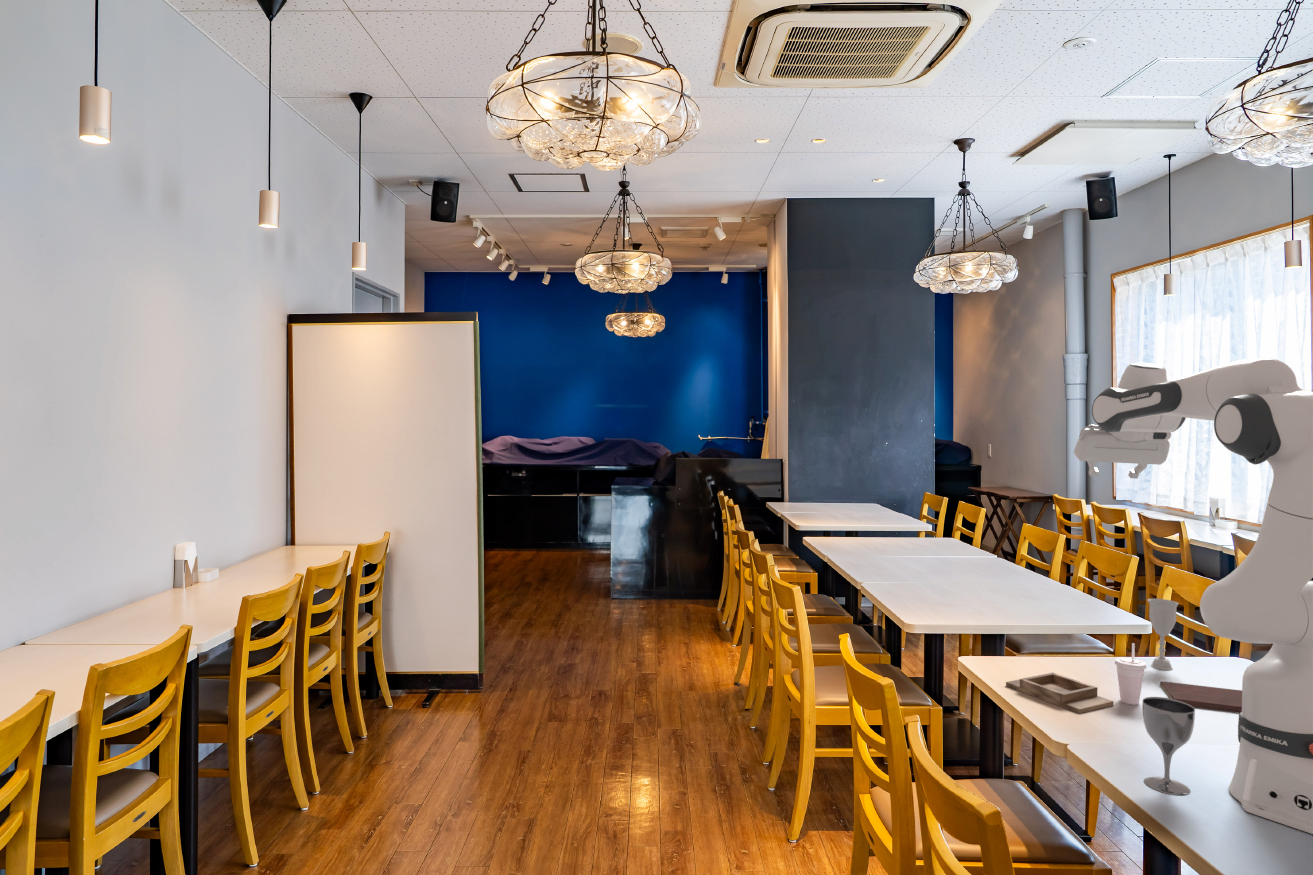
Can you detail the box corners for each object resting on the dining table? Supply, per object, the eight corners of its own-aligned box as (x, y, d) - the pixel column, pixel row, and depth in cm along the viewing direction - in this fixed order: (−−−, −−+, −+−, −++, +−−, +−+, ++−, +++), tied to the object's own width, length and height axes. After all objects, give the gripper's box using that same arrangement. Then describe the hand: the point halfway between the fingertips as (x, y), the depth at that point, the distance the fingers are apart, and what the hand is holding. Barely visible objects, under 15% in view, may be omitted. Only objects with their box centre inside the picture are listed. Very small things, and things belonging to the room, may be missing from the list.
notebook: (1160, 686, 194) (1160, 678, 194) (1254, 697, 186) (1255, 689, 186) (1174, 706, 180) (1174, 698, 180) (1277, 719, 172) (1277, 711, 172)
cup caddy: (1113, 705, 179) (1113, 692, 179) (1079, 713, 174) (1079, 700, 174) (1038, 679, 197) (1038, 667, 197) (1005, 685, 192) (1006, 674, 192)
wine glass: (1130, 779, 142) (1132, 699, 141) (1160, 772, 144) (1162, 694, 144) (1173, 799, 134) (1174, 715, 134) (1203, 792, 137) (1205, 709, 137)
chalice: (1183, 669, 206) (1184, 603, 206) (1166, 672, 204) (1167, 605, 203) (1157, 661, 213) (1158, 597, 212) (1140, 664, 210) (1141, 599, 210)
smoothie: (1150, 707, 178) (1151, 648, 178) (1120, 705, 179) (1121, 646, 179) (1138, 697, 184) (1139, 640, 184) (1109, 695, 186) (1110, 638, 185)
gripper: (1087, 430, 181) (1073, 480, 187) (1179, 434, 179) (1161, 484, 185) (1077, 418, 186) (1064, 468, 193) (1166, 422, 184) (1149, 472, 191)
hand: (1112, 476), depth 189 cm, fingers open, 8 cm apart
